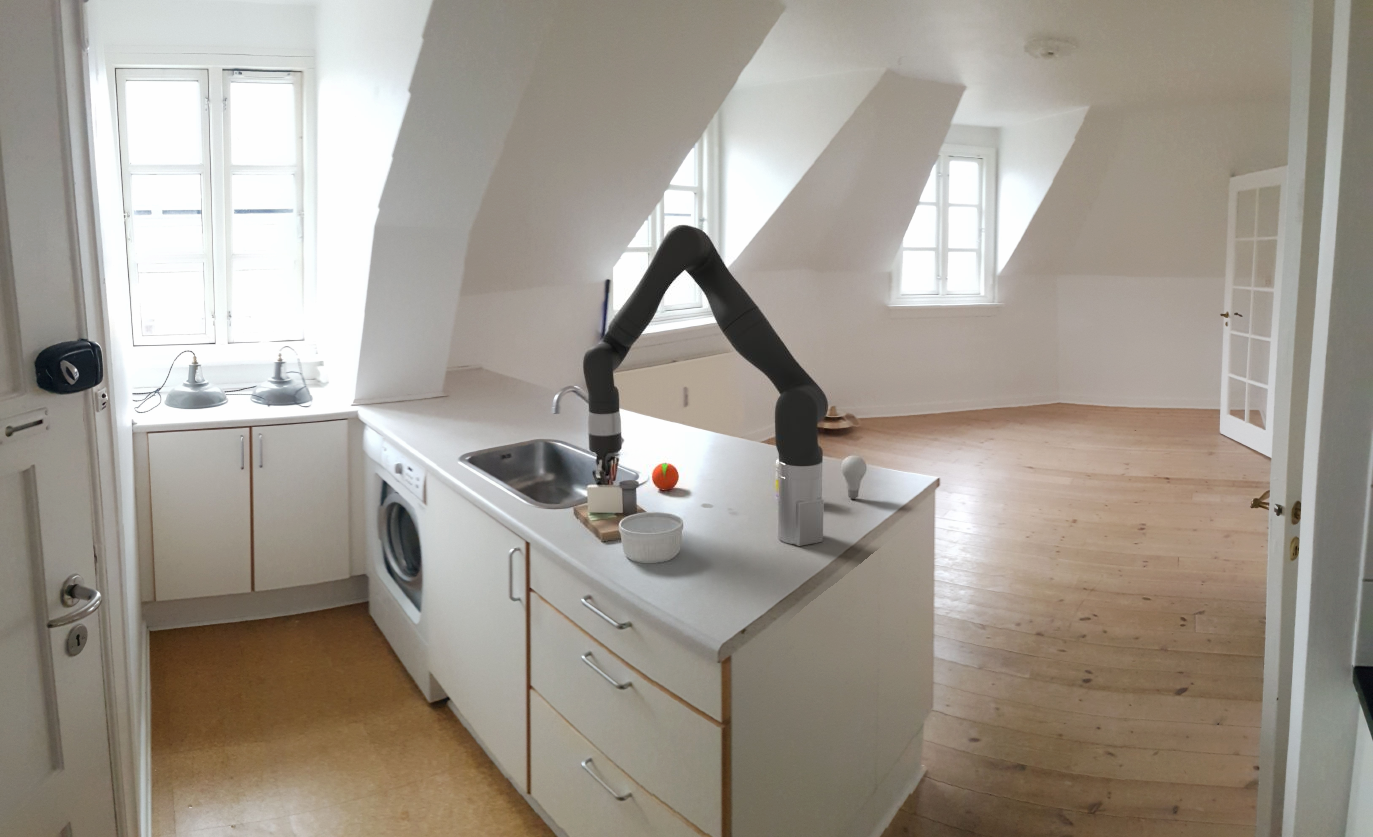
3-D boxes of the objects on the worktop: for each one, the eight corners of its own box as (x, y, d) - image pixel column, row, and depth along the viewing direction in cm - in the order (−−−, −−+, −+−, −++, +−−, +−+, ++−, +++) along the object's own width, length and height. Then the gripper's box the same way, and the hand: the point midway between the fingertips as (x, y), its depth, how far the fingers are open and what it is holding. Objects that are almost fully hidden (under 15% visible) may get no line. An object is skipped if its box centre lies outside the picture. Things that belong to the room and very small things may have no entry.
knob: (640, 509, 199) (639, 480, 198) (638, 516, 195) (637, 485, 193) (590, 509, 200) (589, 479, 198) (587, 515, 196) (585, 485, 194)
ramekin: (632, 570, 170) (631, 537, 169) (610, 548, 182) (609, 517, 180) (693, 559, 175) (693, 527, 174) (669, 538, 187) (668, 508, 186)
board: (661, 531, 191) (661, 522, 191) (601, 542, 186) (601, 532, 185) (629, 506, 209) (629, 497, 208) (573, 514, 203) (573, 506, 203)
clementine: (678, 494, 217) (678, 467, 216) (651, 495, 218) (650, 467, 216) (679, 485, 225) (679, 459, 224) (652, 485, 225) (652, 459, 224)
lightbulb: (855, 504, 208) (856, 460, 205) (835, 498, 212) (836, 455, 210) (870, 499, 212) (872, 455, 209) (850, 493, 216) (851, 451, 214)
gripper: (611, 438, 191) (614, 512, 195) (628, 424, 204) (630, 494, 207) (579, 436, 193) (582, 510, 197) (598, 423, 205) (600, 492, 209)
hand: (607, 502), depth 202 cm, fingers closed
